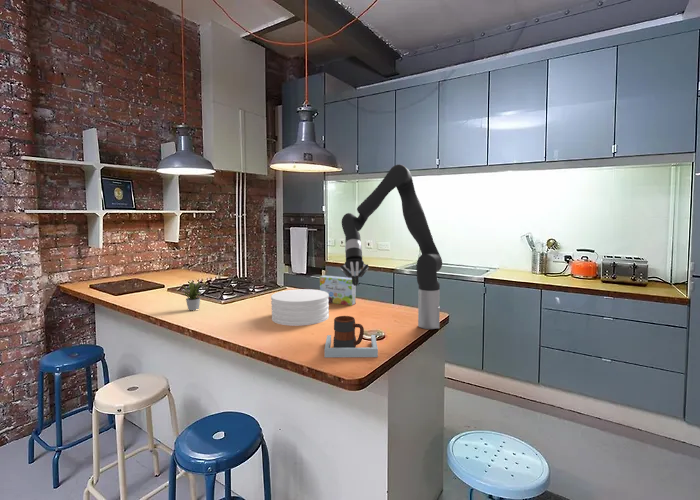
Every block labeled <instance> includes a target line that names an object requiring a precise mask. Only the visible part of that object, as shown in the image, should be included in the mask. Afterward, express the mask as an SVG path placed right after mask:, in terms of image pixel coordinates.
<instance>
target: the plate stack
mask: <svg viewBox="0 0 700 500" xmlns="http://www.w3.org/2000/svg"><path fill="white" fill-rule="evenodd" d="M328 297H329V294H328V293H327V292H325V291H321V290H320V289H311V288H310V289H309V288H303V289H301V288H300V289H289V290H288V289H287V290H283V291H282V290H281V291H278V292H275V293H273V294H271V295H270V299H271V301H270V302H271V303H270V304H271V320H272V322H273V323H275V324H278V325H283V326H291V327H292V326H293V327H295V326H296V327H297V326H298V327H301V326H310V325H316V324H320V323H323V322H326V321H327V320H328V319H329V317H330V315H329V313H330V311H329V306H330V305H329V304H330V303H328V302H329V299H328Z"/></svg>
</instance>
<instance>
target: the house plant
mask: <svg viewBox="0 0 700 500" xmlns="http://www.w3.org/2000/svg"><path fill="white" fill-rule="evenodd" d="M204 283H206V281H203V282H202V283H201V280H200V281H199V282H197V283H195V282H194V281H193V280H189V282H188V286H189V290H188V288H186V287H185V286H184V285H182V284H179V285H180V286H182V287H183V288H184V289H185V290H183V292H184V293H182V295H183V296H185V297H187V298H186V300H185V301H186V306H187V310H188V309H189V310H196V309H199V310H200V304H201V297H200V295H201V293H202V292H203V293H205V289H204V290H200V289H201V288H202V287H203V286H205V284H204ZM189 310H188V311H189Z"/></svg>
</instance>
